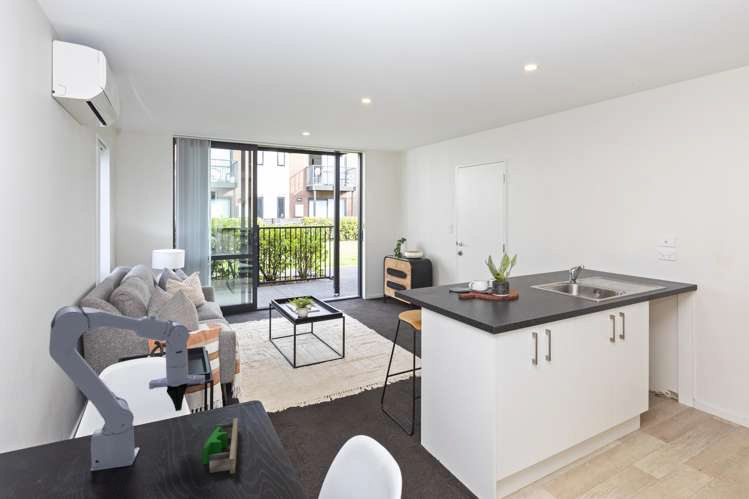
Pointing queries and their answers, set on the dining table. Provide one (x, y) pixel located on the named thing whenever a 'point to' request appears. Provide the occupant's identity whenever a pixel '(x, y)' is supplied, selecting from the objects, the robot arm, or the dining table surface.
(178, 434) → the dining table surface
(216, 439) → the pipe clamp
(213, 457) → the wooden drawer handle
